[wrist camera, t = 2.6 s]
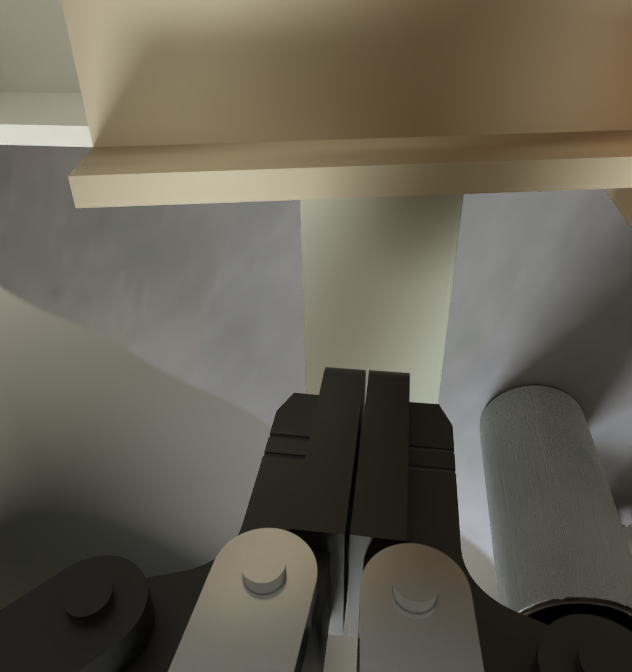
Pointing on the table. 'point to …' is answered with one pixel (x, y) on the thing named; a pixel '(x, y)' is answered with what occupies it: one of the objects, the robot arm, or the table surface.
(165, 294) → the table surface
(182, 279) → the table surface
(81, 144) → the white open box
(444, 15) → the lever
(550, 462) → the planter
